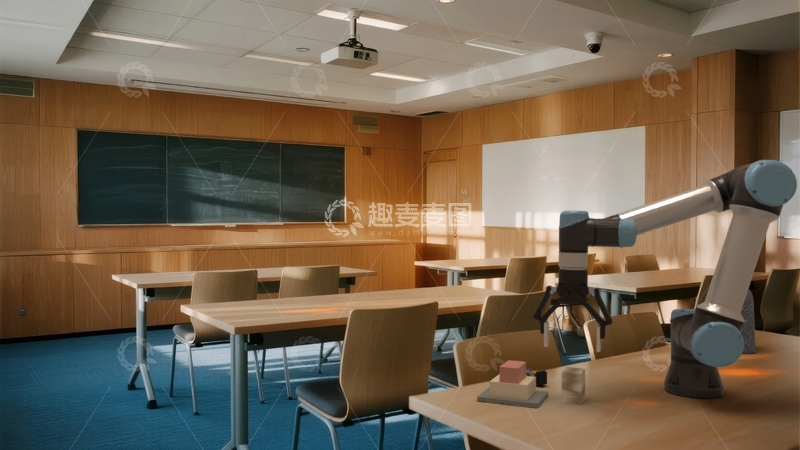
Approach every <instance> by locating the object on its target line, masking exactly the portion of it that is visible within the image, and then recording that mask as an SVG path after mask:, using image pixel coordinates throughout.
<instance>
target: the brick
mask: <svg viewBox="0 0 800 450" xmlns="http://www.w3.org/2000/svg"><path fill="white" fill-rule="evenodd" d="M585 400H586V368H583V367H581V368H580V367H571V366H570V367H569V366H565V367H564V369H563V370H562V371H561V403H563V404H570V405H580V406H582V404H583V403H584V402H585Z"/></svg>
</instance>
